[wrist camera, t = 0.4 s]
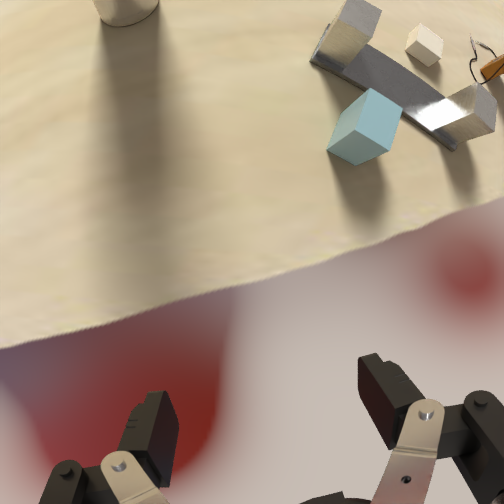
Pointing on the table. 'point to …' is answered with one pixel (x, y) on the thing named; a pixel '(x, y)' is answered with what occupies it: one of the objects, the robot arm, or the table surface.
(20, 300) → the table surface
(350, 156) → the block
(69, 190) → the table surface
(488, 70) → the multimeter
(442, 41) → the block
